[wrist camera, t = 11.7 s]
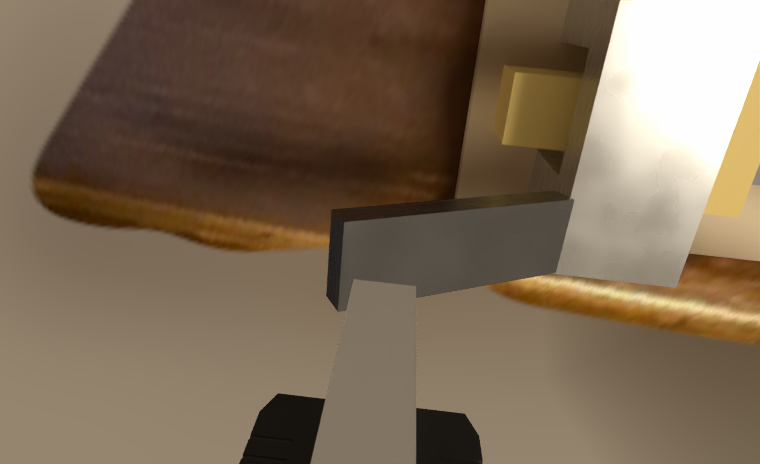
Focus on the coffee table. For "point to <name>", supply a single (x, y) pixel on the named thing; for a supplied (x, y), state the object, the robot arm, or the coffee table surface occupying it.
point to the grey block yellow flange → (555, 113)
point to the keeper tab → (447, 242)
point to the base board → (515, 163)
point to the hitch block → (648, 130)
